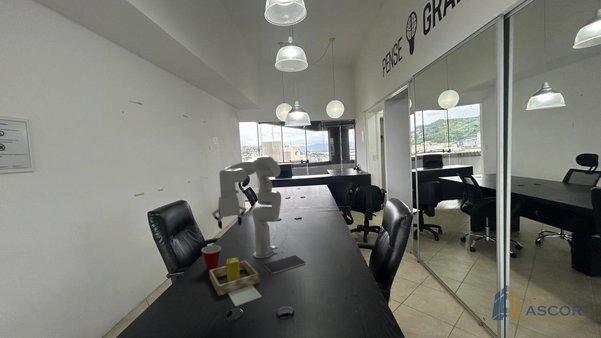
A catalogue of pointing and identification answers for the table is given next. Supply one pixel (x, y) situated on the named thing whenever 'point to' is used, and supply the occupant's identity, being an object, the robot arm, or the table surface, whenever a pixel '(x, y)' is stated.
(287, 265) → the notebook
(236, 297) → the mat
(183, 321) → the table surface
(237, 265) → the supplement box
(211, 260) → the plastic cup
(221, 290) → the wooden frame
